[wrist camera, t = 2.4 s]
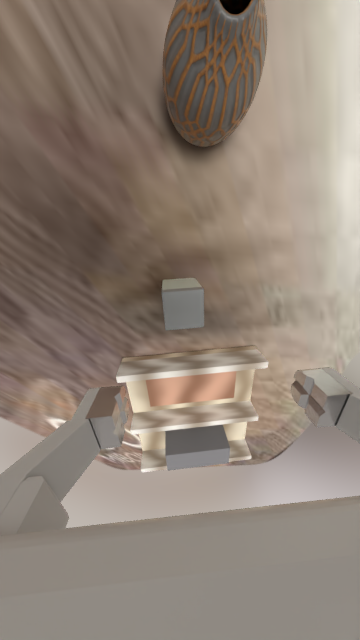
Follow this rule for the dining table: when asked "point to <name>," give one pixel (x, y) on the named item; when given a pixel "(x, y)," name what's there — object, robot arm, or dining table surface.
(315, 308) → the dining table surface
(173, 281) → the grey rectangular block
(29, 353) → the dining table surface
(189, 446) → the charcoal block
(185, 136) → the vase
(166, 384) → the rack
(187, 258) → the dining table surface
